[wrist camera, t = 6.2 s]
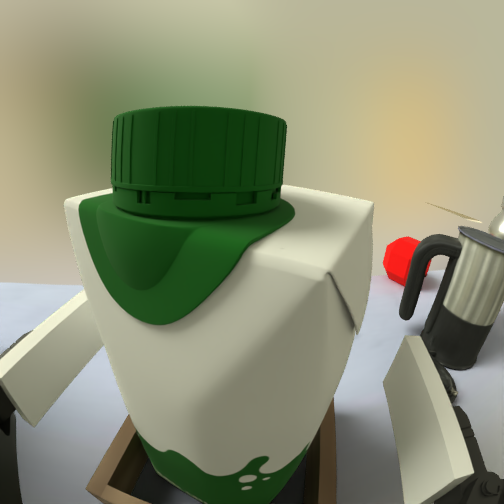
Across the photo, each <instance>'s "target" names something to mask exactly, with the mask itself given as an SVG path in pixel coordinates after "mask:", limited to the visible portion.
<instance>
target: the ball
mask: <svg viewBox="0 0 504 504" xmlns="http://www.w3.org/2000/svg"><path fill="white" fill-rule="evenodd" d="M420 242H421V241H418V240H416V239H413V238H411V237H403V238H399V239H397V240H396V241H394V242H392V243H391V244H389V245H388V246H387V248H386V252H385V257H384V260H383V265H384V268H385V270H386V272H387V275H388V277H389V279H391V280H393V281H395V282H397V283H399V284H401V285H403V286H405V284H406V280H407V276H408V272H409V268H410V264H411V260H412V256H413V253H414V251H415V249H416V247H417V245H418V244H419V243H420ZM430 263H431V260H430V261H429V263H428V266H427V269H426V273H425V277H426V276H427V272H428V270H429V266H430Z"/></svg>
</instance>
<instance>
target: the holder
mask: <svg viewBox="0 0 504 504" xmlns="http://www.w3.org/2000/svg"><path fill="white" fill-rule="evenodd" d="M148 457H149V456H148V454H147V452H146V450H145V448H144V446H143V444H142V442H141V440H140V438H139V436H138V433H137V431H136V429H135V427H134V425H133V422H132V420H131V418H130V415H128V416H127V418H126V420H125V421H124V423H123V425H122V426H121V428H120V430H119V431H118V433H117V435H116V437H115V438H114V440H113V442H112V443H111V445H110V447H109V449H108V450H107V452H106V454H105V455H104V457H103V459H102V461H101V462H100V464H99V466H98V468H97V469H96V471H95V473H94V475H93V476H92V478H91V480H90V482H89V483H88V485H87V487H86V490H87V491H88V492H89V493H91V494H92V495H93V496H94V497H96V498H97V499H98V500H100V501H101V502H102V503H103V504H151V503H148V502H145V501H143V500H140V499H138V498H135V497H133V496H131V493H132V491H133V489H134V487H135V485H136V483H137V481H138V478H139V476H140V474H141V472H142V470H143V468H144V466H145V464H146V462H147V459H148ZM303 504H336V433H335V413H334V397H333V398H332V401H331V403H330V405H329V407H328V410H327V412H326V414H325V416H324V418H323V420H322V422H321V425H320V427H319V429H318V431H317V433H316V435H315V437H314V439H313V441H312V442H311V444H310V446H309V448H308V450H307V457H306V473H305V487H304V499H303Z"/></svg>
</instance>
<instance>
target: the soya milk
mask: <svg viewBox="0 0 504 504" xmlns="http://www.w3.org/2000/svg"><path fill="white" fill-rule="evenodd" d="M286 132H287V125H286V122H285V121H284V120H283V119H281V118H279V117H276V116H272V115H268V114H264V113H259V112H254V111H248V110H241V109H233V108H223V107H208V106H170V107H156V108H147V109H139V110H134V111H129V112H125V113H122V114H119V115H117V116H116V117H115V118H114V121H113V131H112V154H111V184H112V185H113V188H111V189H106V190H101V191H97V192H93V193H88V194H83V195H79V196H76V197H72V198H69V199H66V201H65V203H64V209H65V214H66V220H67V224H68V229H69V234H70V238H71V242H72V246H73V250H74V254H75V258H76V262H77V265H78V269H79V273H80V276H81V280H82V283H83V286H84V290H85V293H86V296H87V299H88V302H89V305H90V308H91V311H92V314H93V316H94V319H95V322H96V325H97V327H98V330H99V333H100V335H101V338H102V341H103V343H104V346H105V349H106V352H107V355H108V358H109V361H110V364H111V367H112V370H113V373H114V376H115V379H116V381H117V384H118V387H119V390H120V392H121V395H122V398H123V400H124V403H125V405H126V408H127V410H128V413H129V415H130V418H131V420H132V422H133V425H134V427H135V429H136V431H137V433H138V436H139V438H140V440H141V442H142V444H143V446H144V448H145V450H146V452H147V454H148V456H149V458H150V460H151V462H152V465H153V467H154V469H155V472H156V474H158V475H159V476H161V477H162V478H163V479H165V480H166V481H168V482H169V483H171V484H172V485H174V486H175V487H177V488H178V489H180V490H181V491H183V492H184V493H186V494H188V495H189V496H191V497H193V498H194V499H196V500H198V501H199V502H201V503H203V504H269V503H270V502H271V501H272V500H273V499H274V498H275V497H276V496H277V494H278V493H279V492H280V491H281V490H282V488H283V487H284V486H285V484H286V483H287V482H288V480H289V479H290V477H291V476H292V475H293V473H294V472H295V470H296V469H297V467H298V466H299V464H300V462H301V461H302V459H303V457H304V456H305V454H306V452H307V450H308V448H309V446H310V444H311V442H312V441H313V439H314V437H315V435H316V433H317V431H318V429H319V427H320V425H321V422H322V420H323V418H324V416H325V414H326V412H327V410H328V407H329V405H330V403H331V401H332V398H333V396H334V394H335V392H336V389H337V387H338V384H339V382H340V380H341V377H342V375H343V372H344V370H345V367H346V364H347V360H348V357H349V354H350V351H351V347H352V344H353V340H354V336H355V331H356V335H358V333H359V331H360V328H361V325H362V321H363V318H364V314H365V310H366V306H367V301H368V296H369V290H370V282H371V272H372V253H373V243H372V242H373V240H372V221H373V211H374V203H373V202H371V201H366V200H362V199H357V198H353V197H348V196H343V195H338V194H333V193H328V192H323V191H317V190H312V189H306V188H301V187H295V186H289V185H283V169H284V157H285V145H286Z"/></svg>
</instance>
